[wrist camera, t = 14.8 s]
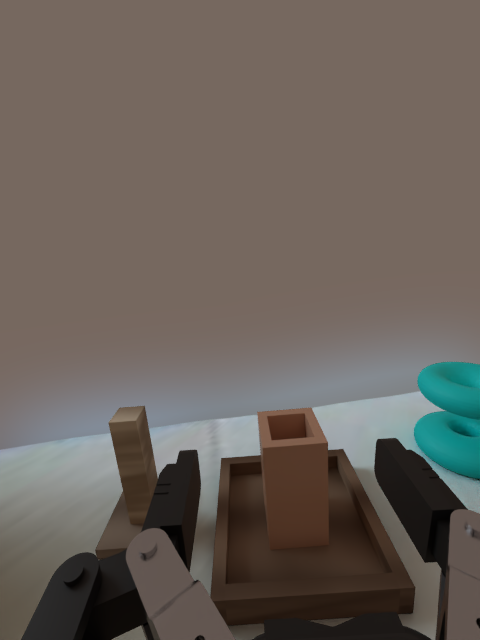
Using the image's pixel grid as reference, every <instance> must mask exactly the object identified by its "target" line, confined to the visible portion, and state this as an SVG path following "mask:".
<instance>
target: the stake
mask: <svg viewBox="0 0 480 640" xmlns="http://www.w3.org/2000/svg"><path fill="white" fill-rule="evenodd" d="M109 427H110V431H111V437H112V441H113V446H114V450H115V455H116V460H117V464H118V469H119V474H120V478H121V483H122V487H123V492H122V494H121V497H120V499H119V501H118V503H117V505H116V507H115V509H114V511H113V514H112V516H111V518H110V520H109V522H108V524H107V526H106V528H105V531H104V533H103V535H102V537H101V539H100V541H99V543H98V545H97V547H96V550H95V551H96V555H97V558H98V559H103V558H107V557H110V556H112V555H115V554H118V553H120V552H122V551H124V550H125V549H127V548H128V546H129V544H130V543H131V541H132V540H133V539H134V538H135V537H136V536H137V535H138V534H139V533H141V530H142V528H143V525H144V521H145V518H146V515H147V512H148V509H149V506H150V503H151V500H152V497H153V495H154V490H155V487H156V484H157V481H158V477H157V472H156V466H155V461H154V455H153V449H152V444H151V438H150V433H149V428H148V422H147V416H146V411H145V406H137V407H124V408H119V409H118V411H117V412H116V413H115V415H114V416H113V418H112V419H111V420H110V421H109Z"/></svg>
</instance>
